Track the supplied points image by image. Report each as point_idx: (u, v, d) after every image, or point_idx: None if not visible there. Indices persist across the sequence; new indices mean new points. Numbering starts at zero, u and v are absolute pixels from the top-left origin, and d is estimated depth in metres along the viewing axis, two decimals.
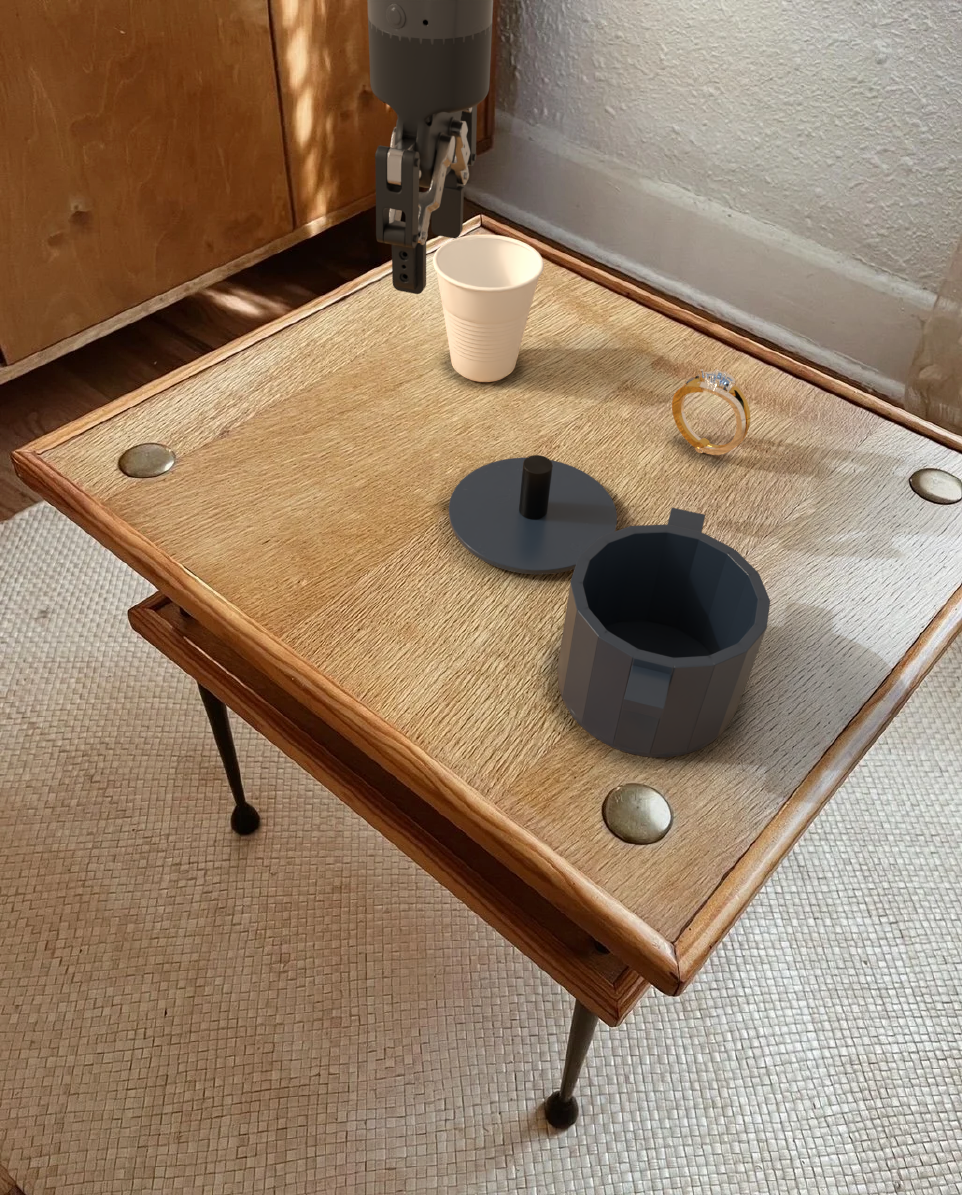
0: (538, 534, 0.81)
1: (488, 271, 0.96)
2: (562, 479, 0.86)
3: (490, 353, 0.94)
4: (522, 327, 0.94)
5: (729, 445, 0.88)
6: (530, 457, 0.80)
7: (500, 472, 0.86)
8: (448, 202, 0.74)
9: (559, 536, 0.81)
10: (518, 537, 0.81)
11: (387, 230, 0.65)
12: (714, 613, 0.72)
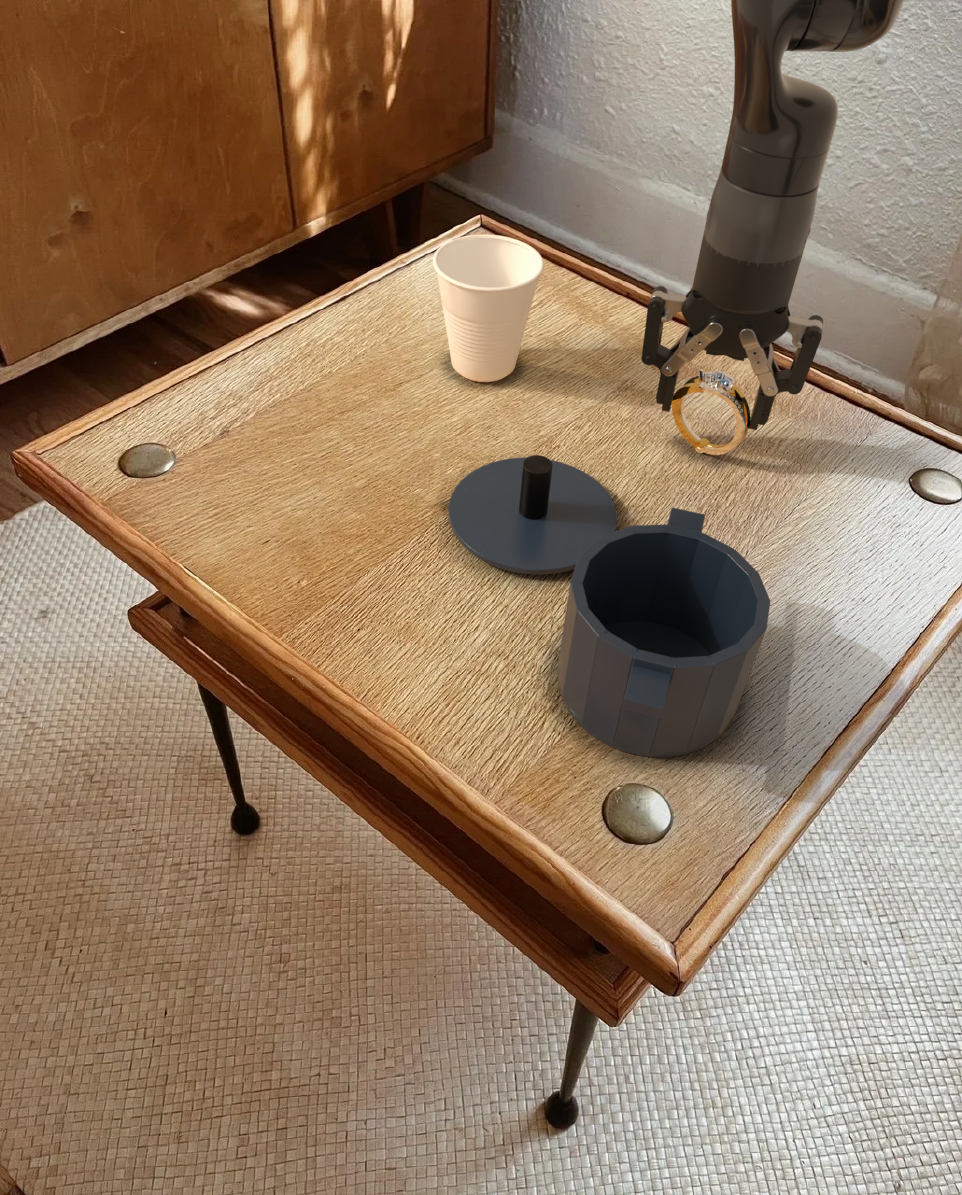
0: (538, 534, 0.81)
1: (488, 271, 0.96)
2: (562, 479, 0.86)
3: (490, 353, 0.94)
4: (522, 327, 0.94)
5: (729, 445, 0.88)
6: (530, 457, 0.80)
7: (500, 472, 0.86)
8: (756, 398, 0.86)
9: (559, 536, 0.81)
10: (518, 537, 0.81)
11: None
12: (714, 613, 0.72)
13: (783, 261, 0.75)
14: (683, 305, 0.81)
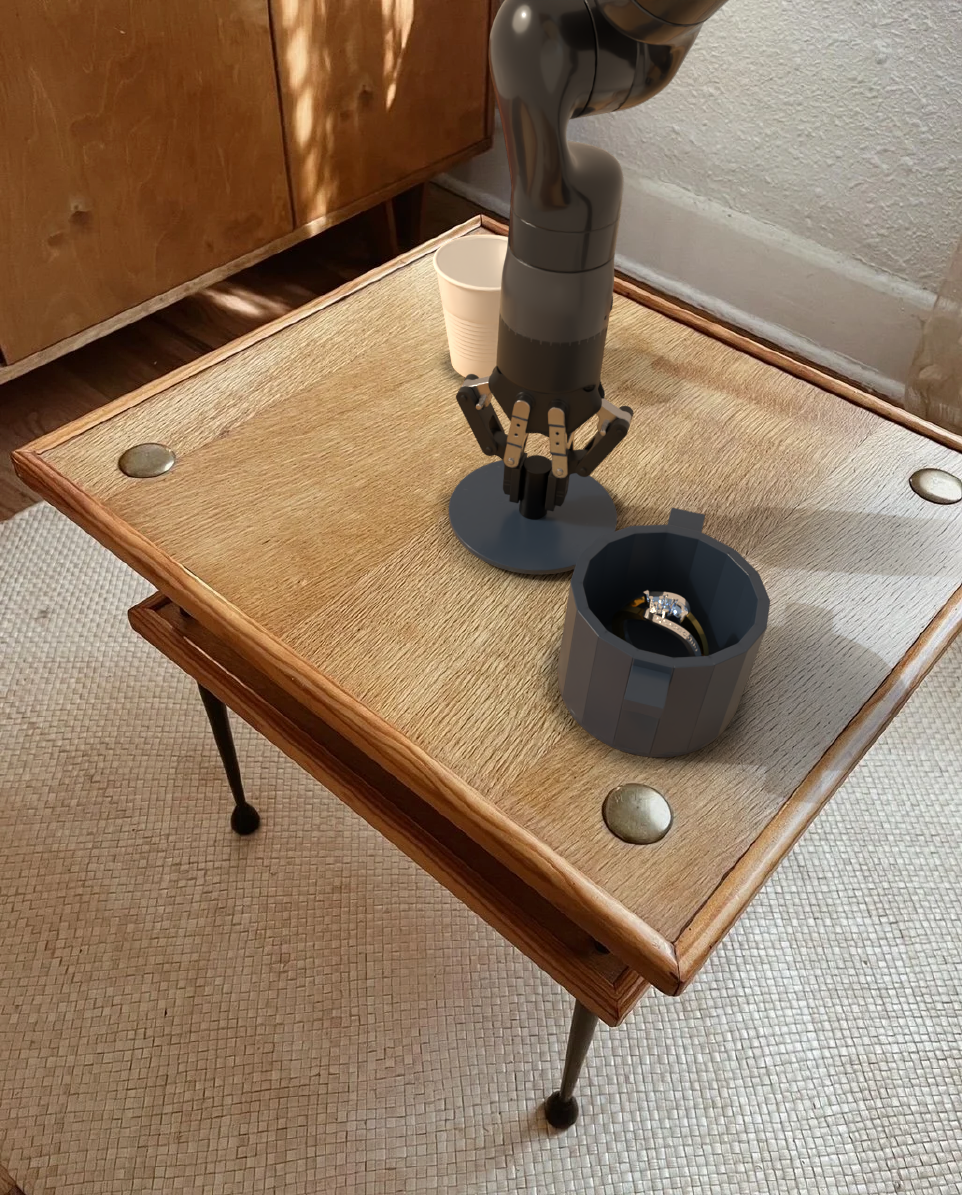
0: (538, 534, 0.81)
1: (488, 271, 0.96)
2: None
3: (490, 353, 0.94)
4: None
5: None
6: (530, 457, 0.80)
7: (500, 472, 0.86)
8: None
9: (559, 536, 0.81)
10: (518, 537, 0.81)
11: None
12: (714, 613, 0.72)
13: (579, 339, 0.68)
14: (489, 380, 0.75)
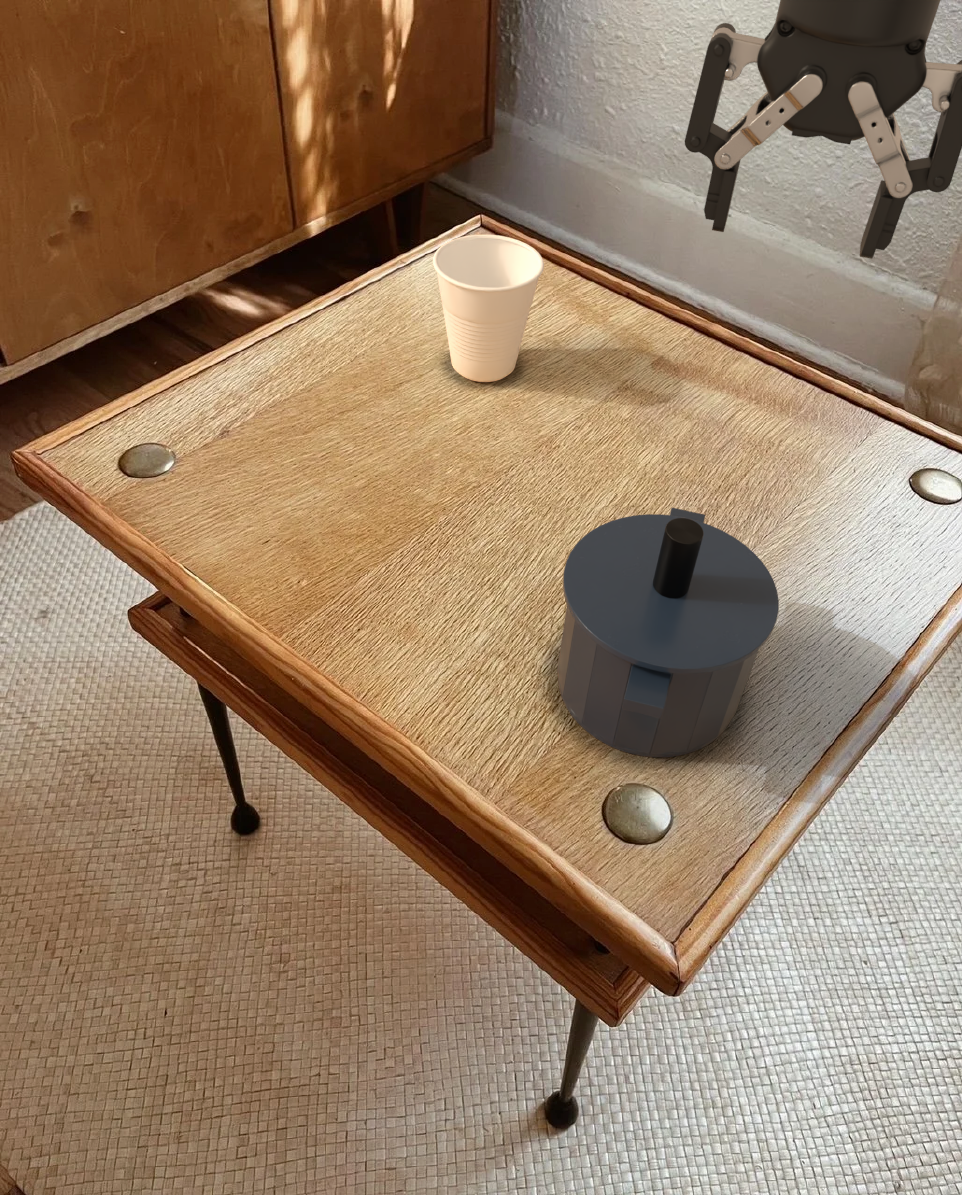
0: (681, 618, 0.63)
1: (488, 271, 0.96)
2: (701, 543, 0.68)
3: (490, 353, 0.94)
4: (522, 327, 0.94)
5: None
6: (673, 521, 0.62)
7: (623, 534, 0.69)
8: (874, 207, 0.57)
9: (708, 621, 0.63)
10: (656, 622, 0.63)
11: None
12: None
13: None
14: (761, 52, 0.53)
